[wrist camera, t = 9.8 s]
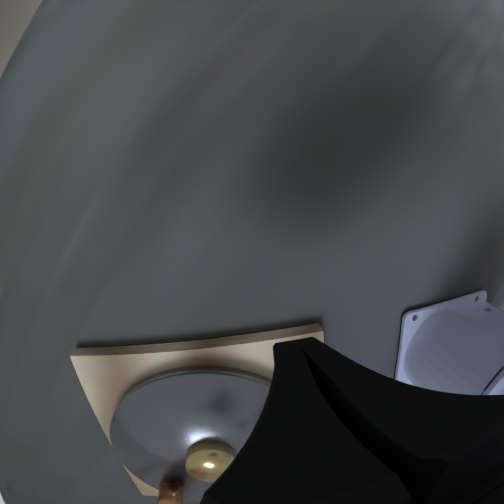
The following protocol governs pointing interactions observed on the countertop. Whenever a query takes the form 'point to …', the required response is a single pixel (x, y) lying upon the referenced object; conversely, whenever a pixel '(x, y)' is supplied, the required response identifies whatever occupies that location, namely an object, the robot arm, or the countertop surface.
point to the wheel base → (172, 366)
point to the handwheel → (186, 427)
